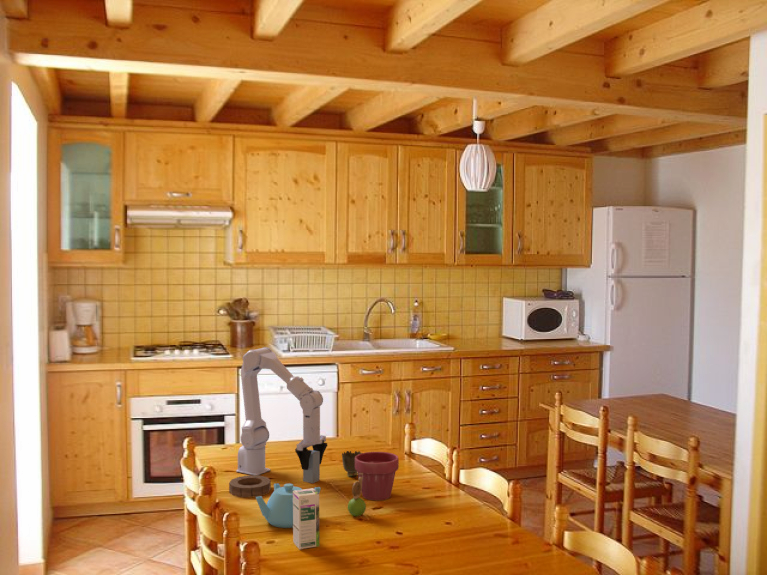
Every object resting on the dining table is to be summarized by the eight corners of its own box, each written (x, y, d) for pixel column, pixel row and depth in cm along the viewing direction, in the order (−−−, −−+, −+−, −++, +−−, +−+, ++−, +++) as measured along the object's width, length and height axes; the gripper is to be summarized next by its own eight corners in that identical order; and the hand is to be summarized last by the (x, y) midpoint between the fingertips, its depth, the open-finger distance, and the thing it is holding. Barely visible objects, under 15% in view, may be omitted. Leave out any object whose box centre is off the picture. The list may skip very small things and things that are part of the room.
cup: (364, 473, 267) (364, 450, 267) (361, 479, 260) (361, 456, 259) (343, 472, 268) (343, 450, 268) (340, 478, 261) (340, 455, 260)
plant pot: (360, 487, 251) (360, 449, 251) (401, 490, 248) (402, 452, 248) (349, 501, 237) (349, 461, 237) (393, 505, 234) (393, 464, 234)
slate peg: (303, 481, 257) (303, 452, 257) (310, 478, 261) (310, 449, 260) (312, 483, 255) (312, 454, 255) (319, 480, 259) (319, 451, 258)
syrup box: (299, 550, 199) (299, 496, 198) (292, 542, 204) (292, 489, 204) (319, 546, 201) (319, 493, 200) (312, 539, 207) (312, 486, 206)
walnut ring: (221, 492, 245) (221, 483, 245) (247, 482, 256) (247, 473, 256) (252, 499, 238) (252, 490, 238) (278, 488, 249) (278, 479, 249)
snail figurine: (369, 512, 227) (369, 473, 227) (361, 520, 221) (362, 479, 221) (352, 510, 229) (352, 471, 229) (344, 517, 223) (345, 477, 222)
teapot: (252, 526, 215) (252, 489, 215) (274, 509, 230) (274, 474, 229) (301, 533, 211) (301, 495, 210) (321, 515, 225) (321, 479, 225)
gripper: (308, 433, 249) (308, 473, 249) (333, 424, 261) (333, 463, 262) (291, 430, 252) (291, 470, 253) (316, 422, 265) (316, 460, 266)
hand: (311, 466), depth 258 cm, fingers open, 7 cm apart
